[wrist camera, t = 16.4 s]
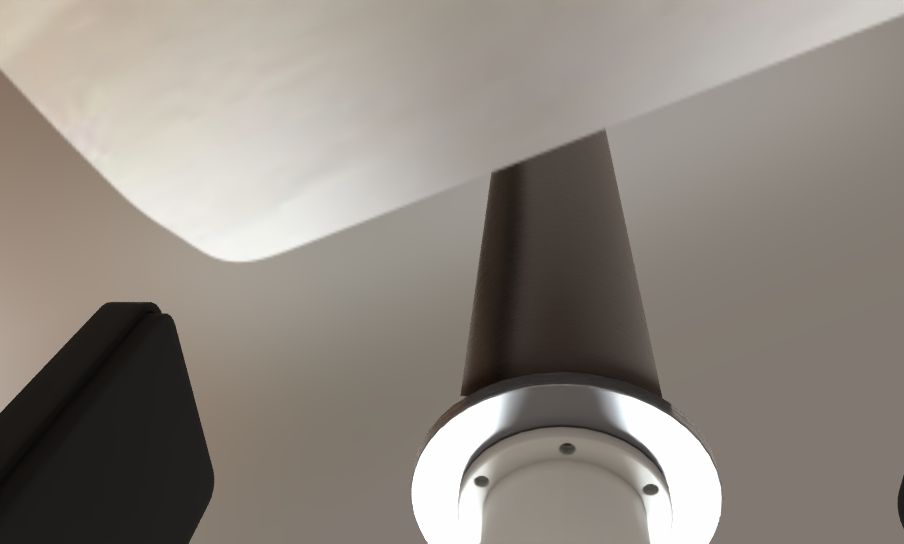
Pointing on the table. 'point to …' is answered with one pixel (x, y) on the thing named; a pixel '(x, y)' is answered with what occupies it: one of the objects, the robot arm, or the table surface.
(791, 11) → the table surface
